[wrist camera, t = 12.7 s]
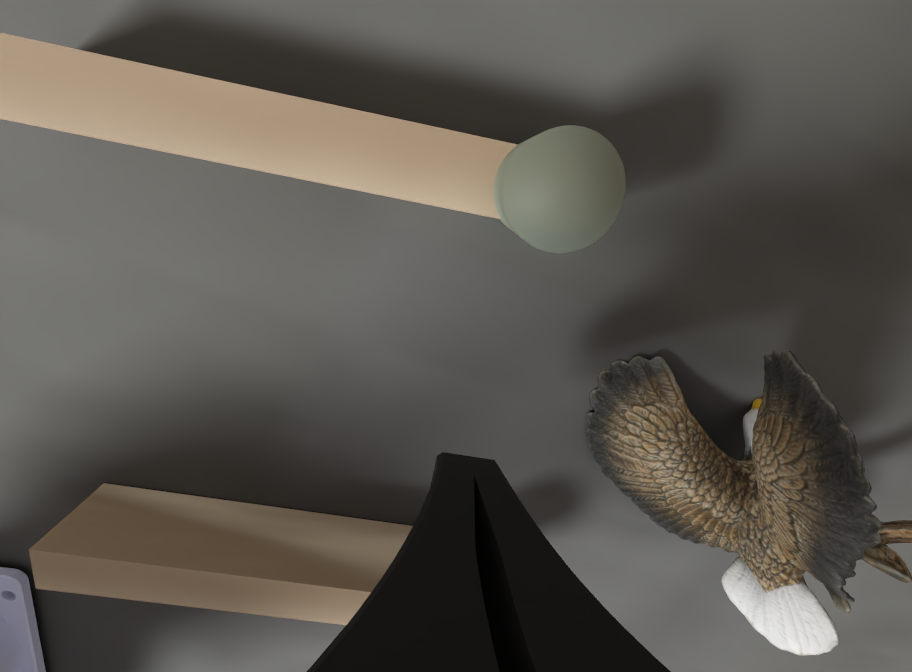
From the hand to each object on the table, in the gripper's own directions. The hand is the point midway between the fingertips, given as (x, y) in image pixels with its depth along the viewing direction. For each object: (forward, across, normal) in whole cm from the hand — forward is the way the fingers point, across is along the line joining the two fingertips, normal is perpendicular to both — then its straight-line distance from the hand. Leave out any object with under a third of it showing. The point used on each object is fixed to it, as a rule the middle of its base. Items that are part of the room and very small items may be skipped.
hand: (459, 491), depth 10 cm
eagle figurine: (+5, -9, 0) cm, 11 cm away
